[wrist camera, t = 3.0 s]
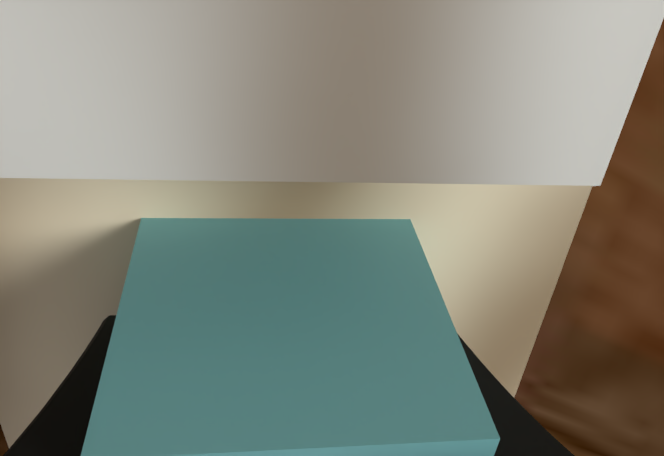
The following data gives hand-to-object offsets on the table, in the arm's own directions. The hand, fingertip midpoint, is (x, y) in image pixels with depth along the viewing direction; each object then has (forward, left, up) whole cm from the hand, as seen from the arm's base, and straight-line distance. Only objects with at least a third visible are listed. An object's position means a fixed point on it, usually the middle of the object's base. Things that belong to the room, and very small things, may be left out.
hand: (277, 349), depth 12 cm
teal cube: (0, 0, -1) cm, 1 cm away
